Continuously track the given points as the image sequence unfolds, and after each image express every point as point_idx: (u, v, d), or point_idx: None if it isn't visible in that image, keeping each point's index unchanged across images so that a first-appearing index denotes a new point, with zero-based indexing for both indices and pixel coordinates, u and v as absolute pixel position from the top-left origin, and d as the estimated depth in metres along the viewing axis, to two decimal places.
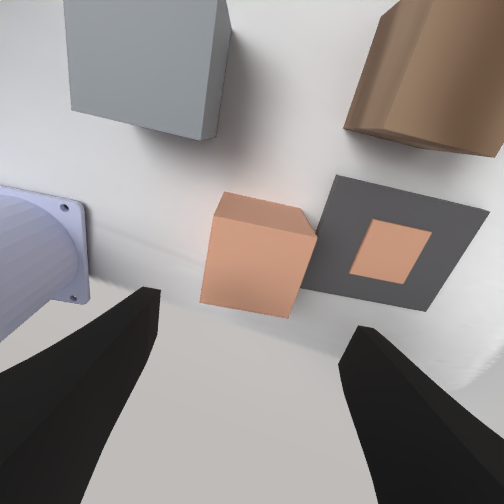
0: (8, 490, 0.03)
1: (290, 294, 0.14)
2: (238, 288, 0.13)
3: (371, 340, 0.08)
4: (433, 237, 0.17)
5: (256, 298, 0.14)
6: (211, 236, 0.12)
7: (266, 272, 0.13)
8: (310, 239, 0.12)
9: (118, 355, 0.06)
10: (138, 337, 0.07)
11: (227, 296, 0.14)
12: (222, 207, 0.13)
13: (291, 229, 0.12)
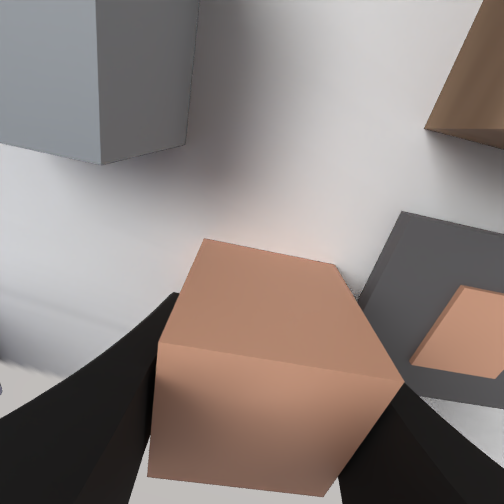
0: (91, 499, 0.03)
1: (330, 466, 0.07)
2: (225, 459, 0.07)
3: None
4: None
5: (261, 472, 0.07)
6: (158, 378, 0.05)
7: (282, 436, 0.06)
8: (387, 384, 0.05)
9: None
10: None
11: (203, 469, 0.07)
12: (190, 295, 0.06)
13: (340, 356, 0.06)
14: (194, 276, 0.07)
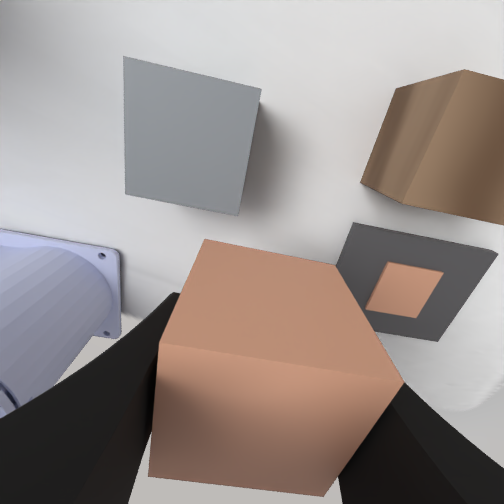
0: (90, 499, 0.03)
1: (330, 466, 0.07)
2: (226, 458, 0.07)
3: None
4: (444, 276, 0.18)
5: (262, 471, 0.07)
6: (159, 379, 0.05)
7: (283, 436, 0.06)
8: (387, 384, 0.05)
9: None
10: None
11: (203, 469, 0.07)
12: (190, 296, 0.06)
13: (340, 356, 0.06)
14: (195, 277, 0.07)
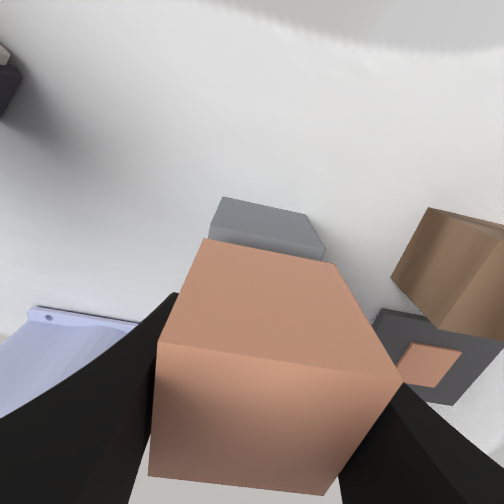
0: (90, 499, 0.03)
1: (330, 465, 0.07)
2: (225, 458, 0.07)
3: None
4: (462, 354, 0.20)
5: (261, 471, 0.07)
6: (158, 378, 0.05)
7: (283, 435, 0.06)
8: (386, 383, 0.05)
9: None
10: None
11: (203, 468, 0.07)
12: (189, 295, 0.06)
13: (339, 355, 0.06)
14: (194, 276, 0.07)
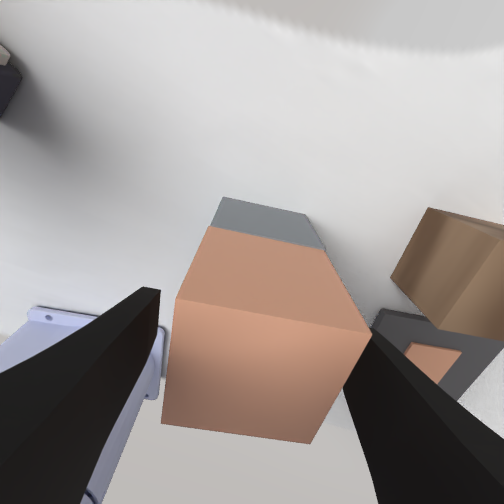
0: (8, 490, 0.03)
1: (315, 413, 0.08)
2: (227, 406, 0.08)
3: (371, 340, 0.08)
4: (462, 354, 0.20)
5: (257, 418, 0.08)
6: (174, 331, 0.07)
7: (274, 384, 0.07)
8: (358, 336, 0.07)
9: (118, 355, 0.06)
10: (138, 337, 0.07)
11: (208, 416, 0.08)
12: (198, 268, 0.07)
13: (321, 315, 0.07)
14: (201, 254, 0.08)
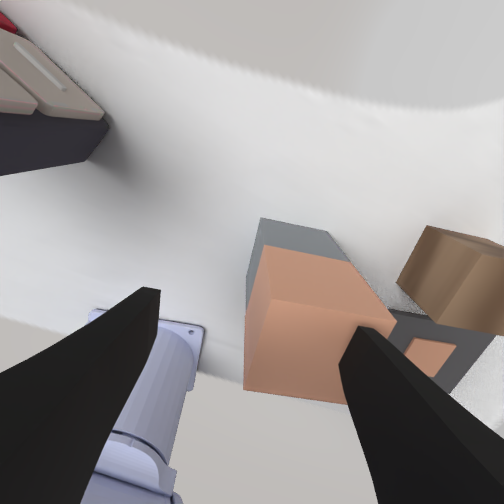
0: (8, 490, 0.03)
1: None
2: (293, 375, 0.11)
3: (371, 340, 0.08)
4: (457, 347, 0.23)
5: (313, 385, 0.11)
6: (266, 320, 0.10)
7: (328, 358, 0.11)
8: (388, 323, 0.10)
9: (118, 355, 0.06)
10: (138, 337, 0.07)
11: (278, 383, 0.11)
12: (274, 278, 0.11)
13: (362, 309, 0.10)
14: (271, 268, 0.12)
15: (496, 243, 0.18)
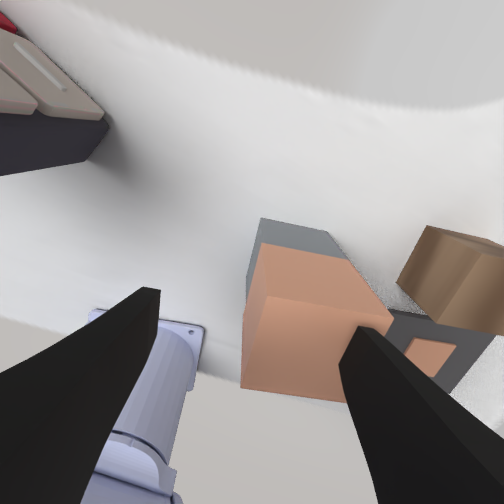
0: (8, 490, 0.03)
1: None
2: (290, 373, 0.11)
3: (371, 340, 0.08)
4: (457, 347, 0.23)
5: (310, 383, 0.11)
6: (262, 318, 0.10)
7: (326, 356, 0.11)
8: (385, 320, 0.10)
9: (118, 355, 0.06)
10: (138, 337, 0.07)
11: (275, 381, 0.11)
12: (270, 275, 0.11)
13: (359, 306, 0.10)
14: (267, 265, 0.12)
15: (496, 243, 0.18)
